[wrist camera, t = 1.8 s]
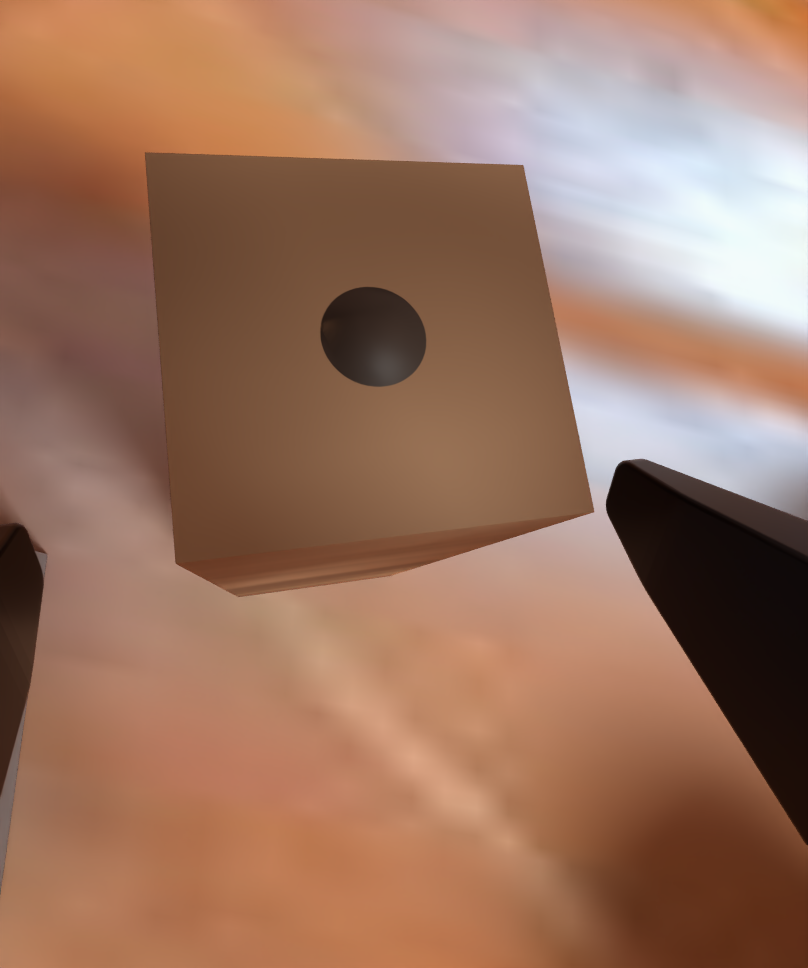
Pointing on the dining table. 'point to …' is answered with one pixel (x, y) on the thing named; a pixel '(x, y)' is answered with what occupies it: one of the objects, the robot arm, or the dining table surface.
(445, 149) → the dining table surface
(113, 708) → the dining table surface
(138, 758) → the dining table surface
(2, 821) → the tray
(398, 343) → the walnut block
